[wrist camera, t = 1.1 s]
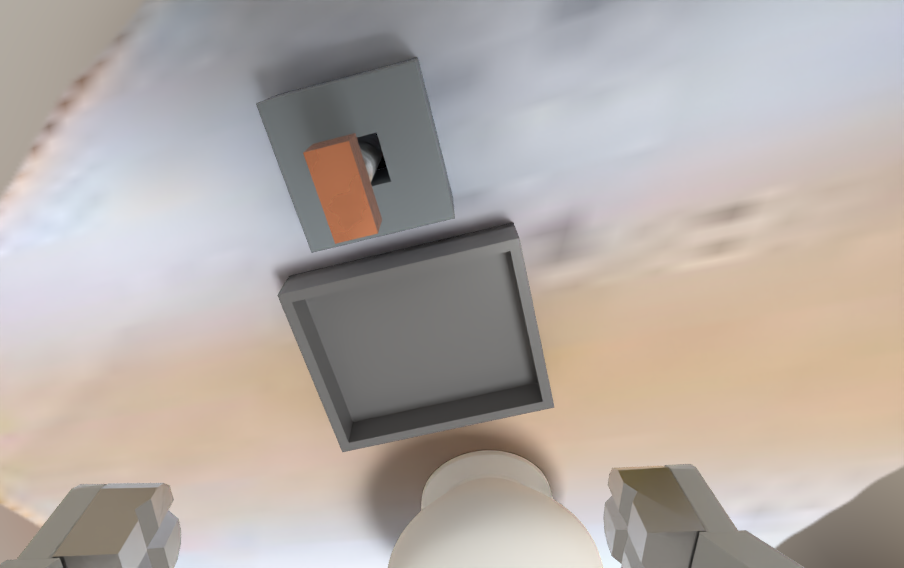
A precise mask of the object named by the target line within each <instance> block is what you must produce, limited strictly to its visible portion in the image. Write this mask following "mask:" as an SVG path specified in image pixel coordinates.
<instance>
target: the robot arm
mask: <svg viewBox="0 0 904 568" xmlns="http://www.w3.org/2000/svg"><path fill="white" fill-rule="evenodd" d="M608 486H609V489H610V491H611V494H612V496H611V497H610V498H609V499H608V500H607V501H606V502H605V507H604V531H605V536H606V540H607V544H608V547H609V550H610V553H611V555H612V556H613V557H614V558H615V559H616V560H617V561H619V562H620V563H621V564H622V565H621V568H804V567H803V566H801V565H800V564H798V563H796V562H795V561H793V560H792V559H790V558H788V557H787V556H785V555H784V554H782V553H780V552H779V551H777V550H776V549H774V548H773V547H771V546H770V545H768V544H767V543H765V542H763V541H762V540H760V539H759V538H757V537H756V536H754V535H752V534H751V533H749V532H748V531H746V530H745V531H738V530H737V528H736V527H735V525H734V524H733V522H732V521H731V519H730V518H729V516H728V515H727V513H726V512H725V510H724V509H723V507H722V506H721V504H720V503H719V501H718V500H717V498H716V497H715V495H714V494H713V492H712V491H711V489H710V488H709V486H708V485H707V483H706V482H705V480H704V479H703V477H702V476H701V474H700V473H699V471H698V470H697V468H696V467H695V466H693V465H692V464H681V465H665V466H647V467H623V468H612V470H611V472H610V474H609V480H608ZM173 500H174V499H173V496H172V492H171V489H170V486H169V485H167V484H164V483H124V484H80V485H78V486H77V487H75V488H73V489H71V490H70V492H69V493H68V494H67V495H66V497H65V498H64V499H63V500H62V502H61V503H60V504H59V506H58V507H57V508H56V509H55V511H54V512H53V513H52V515H51V516H50V517H49V518H48V520H47V521H46V522H45V523H44V525H43V526H42V527H41V529H40V530H39V531H38V533H37V534H36V535H35V536H34V538H33V539H32V540H31V541H30V543H29V544H28V545H27V546H26V548H25V549H24V550H23V552H22V553H21V554H20V555H19V557H18V558H17V559H16V560H6V561H5V562H3V563H1V564H0V568H174V566H175V564H176V562H177V559H178V554H179V549H180V545H181V528H180V524H179V519H178V518H177V517H176V516H175V515H173V514H172V513H171V512H170V511H169V508H170V506H171V504H172V502H173Z"/></svg>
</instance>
